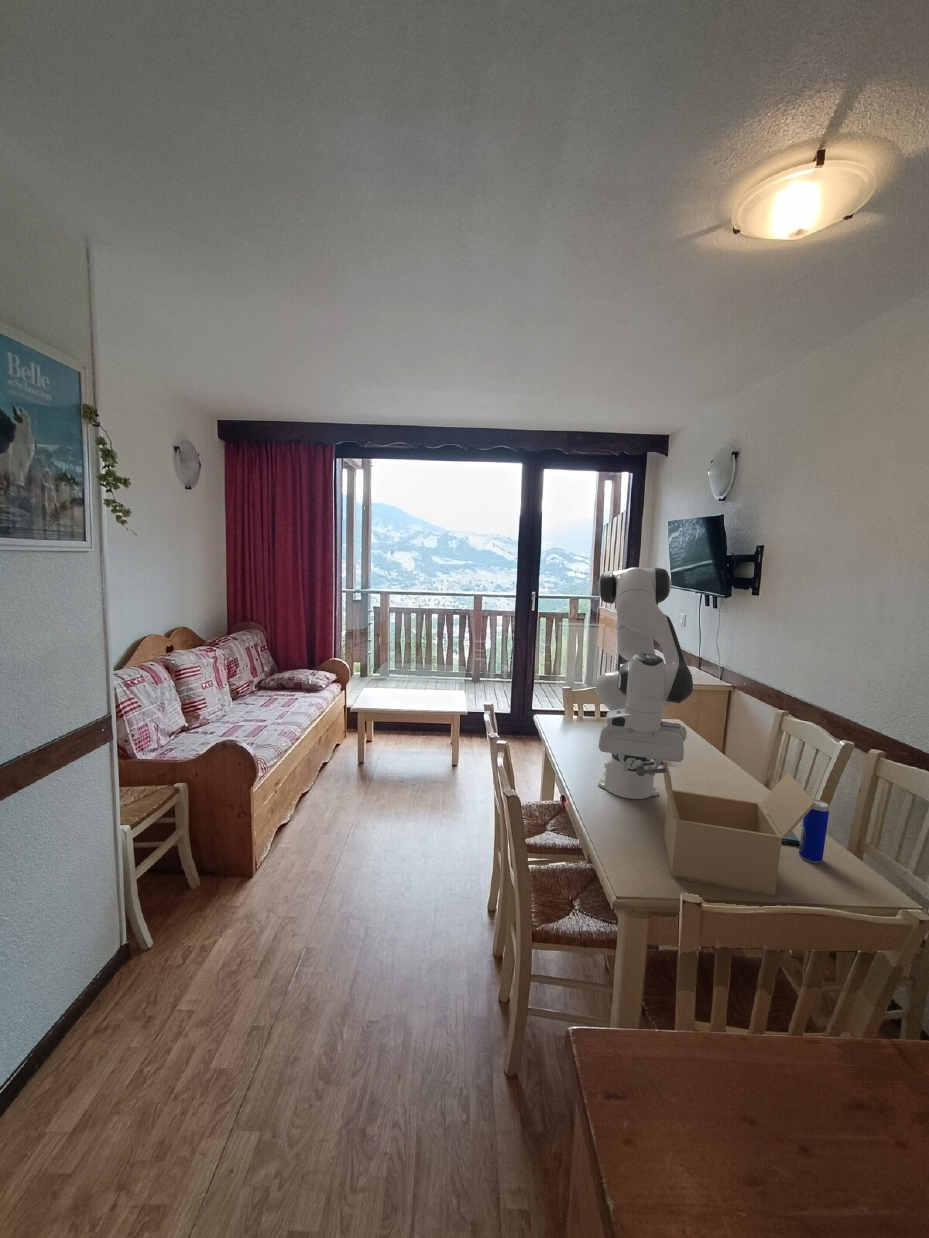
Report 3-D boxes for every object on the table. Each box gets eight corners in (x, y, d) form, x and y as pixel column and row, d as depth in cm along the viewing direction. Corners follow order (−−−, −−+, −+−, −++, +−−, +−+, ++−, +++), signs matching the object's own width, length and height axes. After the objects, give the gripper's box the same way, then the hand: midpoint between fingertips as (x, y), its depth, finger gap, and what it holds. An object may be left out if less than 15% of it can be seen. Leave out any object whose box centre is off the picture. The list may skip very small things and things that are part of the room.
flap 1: (667, 788, 141) (638, 790, 143) (662, 750, 140) (633, 752, 142) (676, 818, 124) (643, 819, 126) (670, 775, 124) (637, 777, 126)
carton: (663, 838, 143) (668, 789, 141) (753, 854, 138) (759, 802, 136) (671, 876, 126) (677, 820, 124) (774, 896, 120) (782, 837, 119)
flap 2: (783, 836, 119) (785, 837, 119) (813, 802, 117) (816, 803, 116) (761, 802, 135) (763, 804, 135) (787, 772, 133) (790, 773, 133)
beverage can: (800, 850, 141) (807, 796, 139) (823, 858, 137) (830, 802, 136) (797, 858, 137) (804, 802, 135) (821, 866, 133) (828, 809, 132)
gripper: (685, 720, 133) (680, 774, 134) (601, 711, 138) (597, 762, 140) (689, 728, 127) (683, 784, 128) (600, 717, 132) (596, 771, 133)
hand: (637, 772), depth 134 cm, fingers open, 5 cm apart
